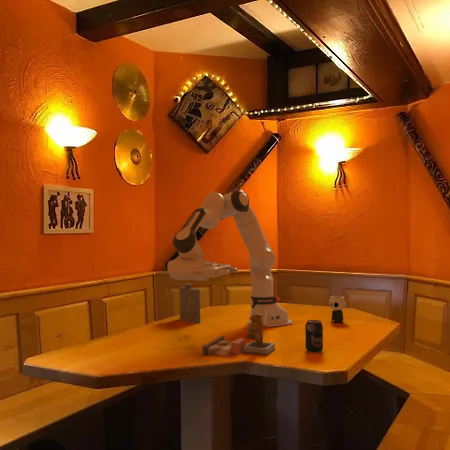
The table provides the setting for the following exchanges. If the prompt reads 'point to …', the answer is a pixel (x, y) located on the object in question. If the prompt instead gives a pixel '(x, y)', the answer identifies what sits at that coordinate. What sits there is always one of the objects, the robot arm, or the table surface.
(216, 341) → the clamp bar
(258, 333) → the dowel
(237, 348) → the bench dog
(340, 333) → the table surface
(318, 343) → the soda can
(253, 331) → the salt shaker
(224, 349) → the bench plate
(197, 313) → the hip flask
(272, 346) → the tray
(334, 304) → the bear figurine
